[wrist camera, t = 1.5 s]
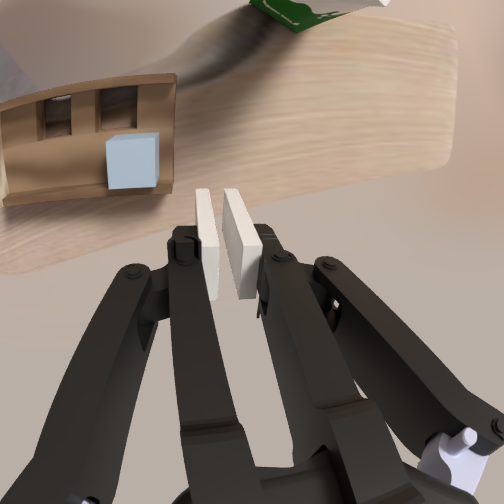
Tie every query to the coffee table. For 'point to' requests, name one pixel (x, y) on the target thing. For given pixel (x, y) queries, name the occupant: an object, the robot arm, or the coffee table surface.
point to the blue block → (133, 160)
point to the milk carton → (311, 10)
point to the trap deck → (80, 141)
